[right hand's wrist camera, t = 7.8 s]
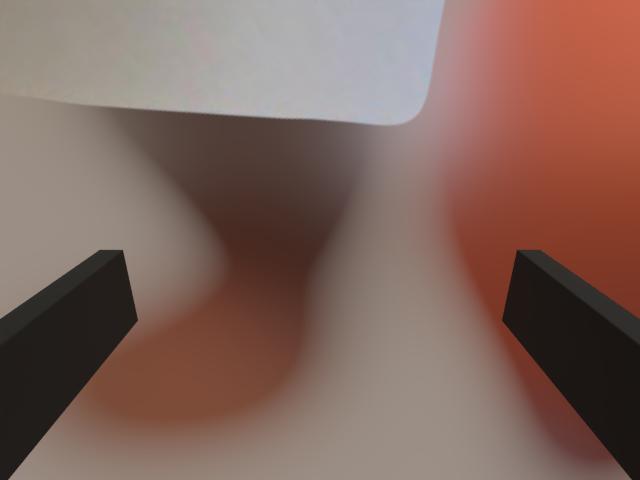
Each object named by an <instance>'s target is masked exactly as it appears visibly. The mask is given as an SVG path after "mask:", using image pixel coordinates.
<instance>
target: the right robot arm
mask: <svg viewBox="0 0 640 480" xmlns="http://www.w3.org/2000/svg"><path fill="white" fill-rule="evenodd" d="M137 321H138V318H137V314H136V309H135V304H134V300H133V295H132V290H131V286H130V281H129V276H128V272H127V267H126V262H125V258H124V253H123V250H99V251H98V252H96V253H95V254H93V255H92V256H90V257H89V258H88V259H86V260H85V261H83V262H82V263H80V264H79V265H77V266H76V267H75V268H73V269H72V270H70V271H69V272H67V273H66V274H65V275H63V276H62V277H60V278H59V279H57V280H56V281H54V282H53V283H52V284H50V285H49V286H47V287H46V288H44V289H43V290H41V291H40V292H39V293H37V294H36V295H34V296H33V297H31V298H30V299H29V300H27V301H26V302H24V303H23V304H21V305H20V306H18V307H17V308H16V309H14V310H13V311H11V312H10V313H8V314H7V315H5V316H4V317H3V318H1V319H0V480H8V479H9V478H10V477H11V476H12V474H13V473H14V472H15V471H16V469H17V468H18V467H19V466H20V464H21V463H22V462H23V461H24V460H25V458H26V457H27V456H28V455H29V453H30V452H31V451H32V450H33V449H34V447H35V446H36V445H37V444H38V442H39V441H40V440H41V439H42V437H43V436H44V435H45V434H46V433H47V431H48V430H49V429H50V428H51V426H52V425H53V424H54V423H55V422H56V420H57V419H58V418H59V417H60V415H61V414H62V413H63V412H64V411H65V409H66V408H67V407H68V406H69V404H70V403H71V402H72V401H73V399H74V398H75V397H76V396H77V395H78V393H79V392H80V391H81V390H82V388H83V387H84V386H85V385H86V384H87V382H88V381H89V380H90V379H91V377H92V376H93V375H94V374H95V372H96V371H97V370H98V369H99V368H100V366H101V365H102V364H103V363H104V361H105V360H106V359H107V358H108V356H109V355H110V354H111V353H112V352H113V350H114V349H115V348H116V347H117V345H118V344H119V343H120V342H121V341H122V339H123V338H124V337H125V336H126V334H127V333H128V332H129V331H130V330H131V328H132V327H133V326H134V325H135V323H136V322H137ZM502 321H503V322H504V323H505V325H506V326H507V327H508V328H509V329H510V331H511V332H512V333H513V334H514V336H515V337H516V338H517V339H518V341H519V342H520V343H521V344H522V345H523V347H524V348H525V349H526V350H527V352H528V353H529V354H530V355H531V357H532V358H533V359H534V360H535V361H536V363H537V364H538V365H539V366H540V368H541V369H542V370H543V371H544V372H545V374H546V375H547V376H548V377H549V379H550V380H551V381H552V382H553V384H554V385H555V386H556V387H557V388H558V390H559V391H560V392H561V393H562V395H563V396H564V397H565V398H566V399H567V401H568V402H569V403H570V404H571V406H572V407H573V408H574V409H575V410H576V412H577V413H578V414H579V415H580V417H581V418H582V419H583V420H584V422H585V423H586V424H587V425H588V426H589V428H590V429H591V430H592V431H593V433H594V434H595V435H596V436H597V437H598V439H599V440H600V441H601V442H602V444H603V445H604V446H605V447H606V448H607V450H608V451H609V452H610V453H611V455H612V456H613V457H614V458H615V460H616V461H617V462H618V463H619V464H620V466H621V467H622V468H623V469H624V471H625V472H626V473H627V474H628V476H629V477H630V478H631V479H632V480H640V319H639V318H637V317H636V316H634V315H633V314H632V313H630V312H629V311H627V310H626V309H624V308H623V307H621V306H620V305H619V304H617V303H616V302H614V301H613V300H611V299H610V298H609V297H607V296H606V295H604V294H603V293H601V292H600V291H599V290H597V289H596V288H594V287H593V286H591V285H590V284H588V283H587V282H585V281H584V280H583V279H581V278H580V277H578V276H577V275H575V274H574V273H573V272H571V271H570V270H568V269H567V268H565V267H564V266H563V265H561V264H560V263H558V262H557V261H555V260H554V259H552V258H551V257H549V256H548V255H547V254H545V253H544V252H542V251H541V250H517V253H516V258H515V262H514V267H513V272H512V276H511V281H510V286H509V290H508V295H507V300H506V304H505V309H504V314H503V318H502Z"/></svg>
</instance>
